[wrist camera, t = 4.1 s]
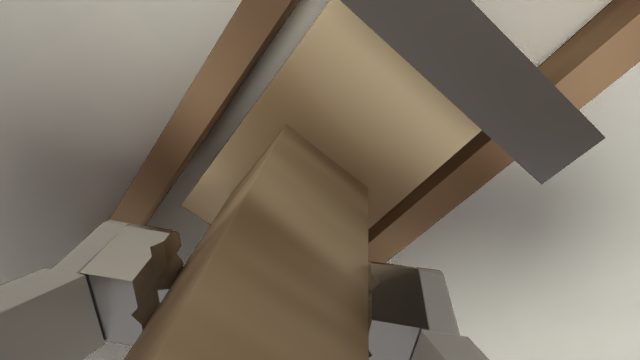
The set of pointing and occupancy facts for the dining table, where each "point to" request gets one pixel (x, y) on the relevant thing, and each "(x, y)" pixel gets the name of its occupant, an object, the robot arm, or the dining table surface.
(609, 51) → the track
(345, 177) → the kicker
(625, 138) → the dining table surface
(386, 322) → the robot arm
